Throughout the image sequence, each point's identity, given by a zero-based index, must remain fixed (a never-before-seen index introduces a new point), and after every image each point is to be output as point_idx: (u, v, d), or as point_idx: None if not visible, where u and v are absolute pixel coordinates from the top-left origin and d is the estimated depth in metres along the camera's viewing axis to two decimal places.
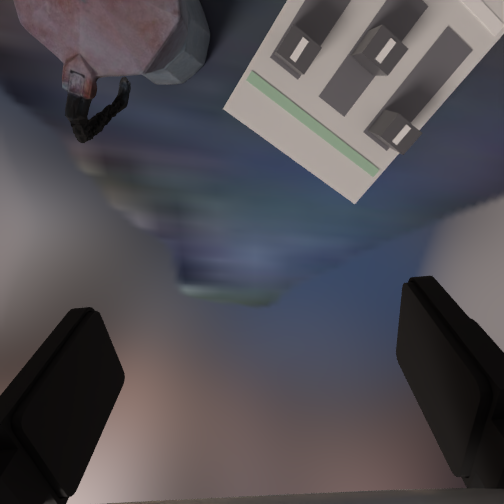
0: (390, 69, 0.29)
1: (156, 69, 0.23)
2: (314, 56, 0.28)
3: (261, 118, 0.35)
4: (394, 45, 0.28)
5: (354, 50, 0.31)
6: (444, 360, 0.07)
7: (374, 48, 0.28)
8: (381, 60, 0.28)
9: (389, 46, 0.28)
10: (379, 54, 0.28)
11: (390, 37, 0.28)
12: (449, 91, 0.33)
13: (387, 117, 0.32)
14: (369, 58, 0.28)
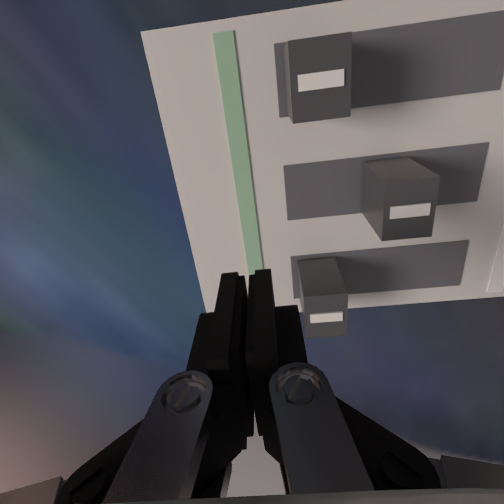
0: (391, 237, 0.17)
1: None
2: (330, 116, 0.14)
3: (186, 111, 0.18)
4: (424, 215, 0.16)
5: (372, 161, 0.18)
6: None
7: (402, 193, 0.15)
8: (394, 217, 0.16)
9: (418, 211, 0.16)
10: (399, 207, 0.16)
11: (430, 202, 0.16)
12: (403, 300, 0.24)
13: (330, 275, 0.20)
14: (385, 198, 0.16)
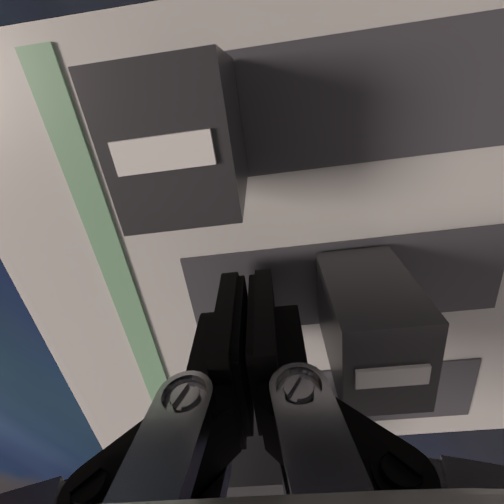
0: None
1: None
2: (199, 221, 0.07)
3: (3, 177, 0.11)
4: (419, 381, 0.08)
5: (331, 254, 0.11)
6: None
7: (377, 350, 0.08)
8: (362, 386, 0.08)
9: (408, 376, 0.08)
10: (372, 372, 0.08)
11: (431, 363, 0.08)
12: None
13: None
14: (344, 357, 0.08)
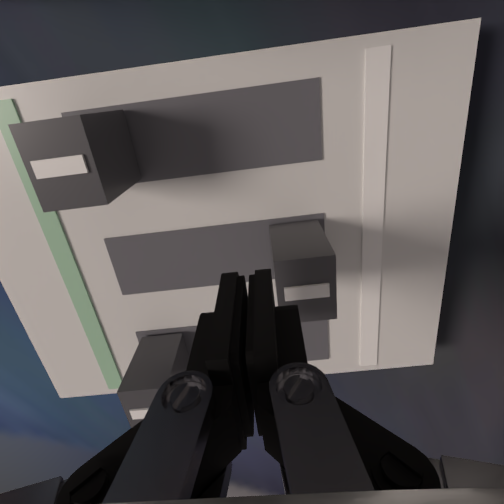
0: None
1: None
2: (84, 204, 0.12)
3: None
4: (324, 296, 0.14)
5: (278, 225, 0.16)
6: None
7: (295, 273, 0.13)
8: (289, 299, 0.14)
9: (317, 291, 0.14)
10: (294, 288, 0.13)
11: (329, 282, 0.13)
12: None
13: (163, 360, 0.17)
14: (276, 279, 0.13)
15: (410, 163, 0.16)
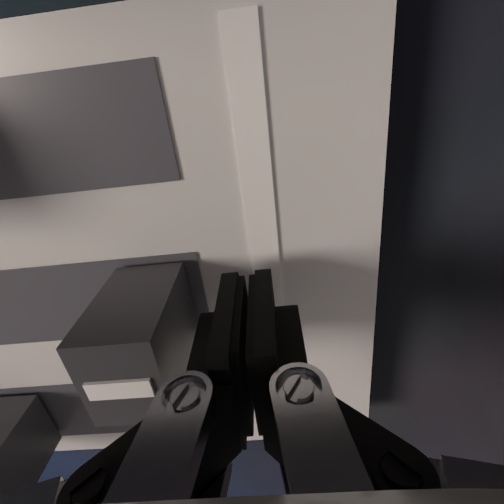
0: (108, 422, 0.10)
1: None
2: None
3: None
4: (149, 393, 0.09)
5: (126, 270, 0.12)
6: None
7: (95, 365, 0.09)
8: (95, 398, 0.09)
9: (136, 389, 0.09)
10: (97, 385, 0.09)
11: (150, 377, 0.09)
12: None
13: None
14: (70, 371, 0.09)
15: (310, 186, 0.11)
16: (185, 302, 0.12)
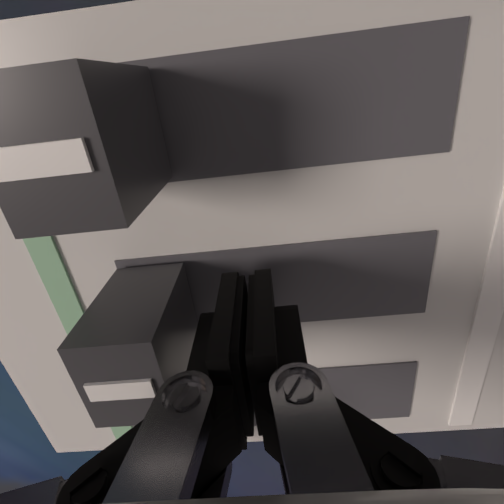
0: (109, 423, 0.10)
1: None
2: (85, 226, 0.07)
3: None
4: (150, 395, 0.09)
5: (127, 271, 0.12)
6: None
7: (96, 366, 0.09)
8: (96, 399, 0.09)
9: (137, 389, 0.09)
10: (98, 386, 0.09)
11: (151, 378, 0.09)
12: None
13: None
14: (71, 371, 0.09)
15: None
16: (186, 303, 0.12)
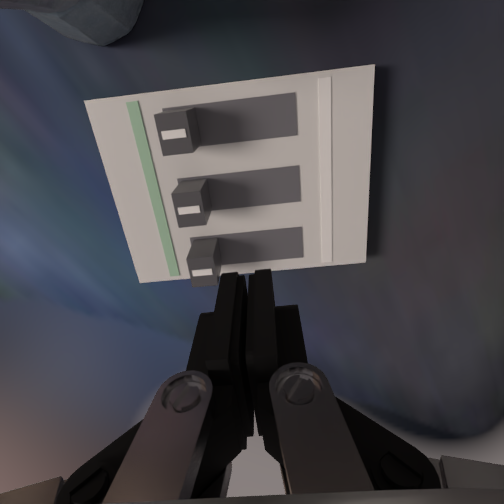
0: (183, 225, 0.28)
1: None
2: (182, 152, 0.26)
3: (114, 145, 0.30)
4: (198, 212, 0.28)
5: (185, 181, 0.31)
6: None
7: (182, 200, 0.27)
8: (180, 213, 0.28)
9: (194, 210, 0.28)
10: (182, 208, 0.28)
11: (199, 204, 0.28)
12: (269, 268, 0.35)
13: (208, 247, 0.31)
14: (173, 203, 0.28)
15: (344, 138, 0.29)
16: (207, 193, 0.31)
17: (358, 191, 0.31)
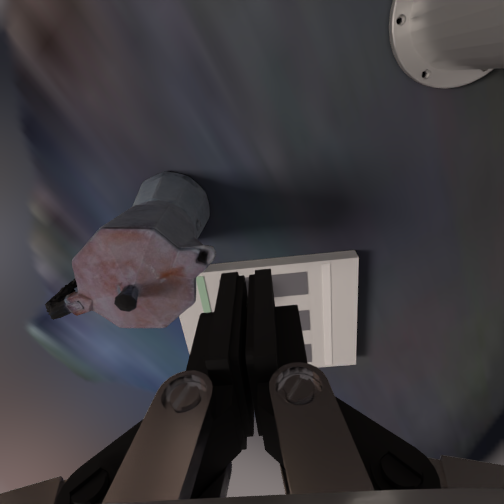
0: None
1: None
2: None
3: None
4: None
5: None
6: None
7: None
8: None
9: None
10: None
11: None
12: None
13: None
14: None
15: (339, 295, 0.44)
16: None
17: (349, 324, 0.46)
